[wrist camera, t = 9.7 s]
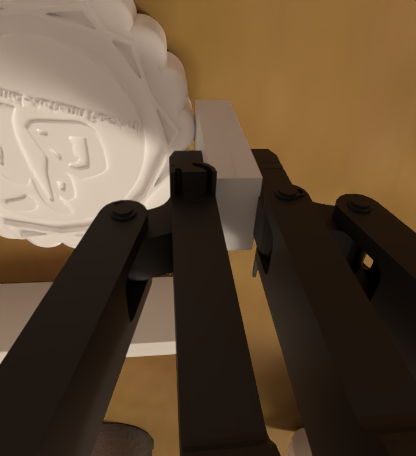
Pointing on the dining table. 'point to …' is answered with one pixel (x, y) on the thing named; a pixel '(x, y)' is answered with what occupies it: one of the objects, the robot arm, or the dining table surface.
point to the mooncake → (84, 114)
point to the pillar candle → (122, 441)
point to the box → (143, 336)
